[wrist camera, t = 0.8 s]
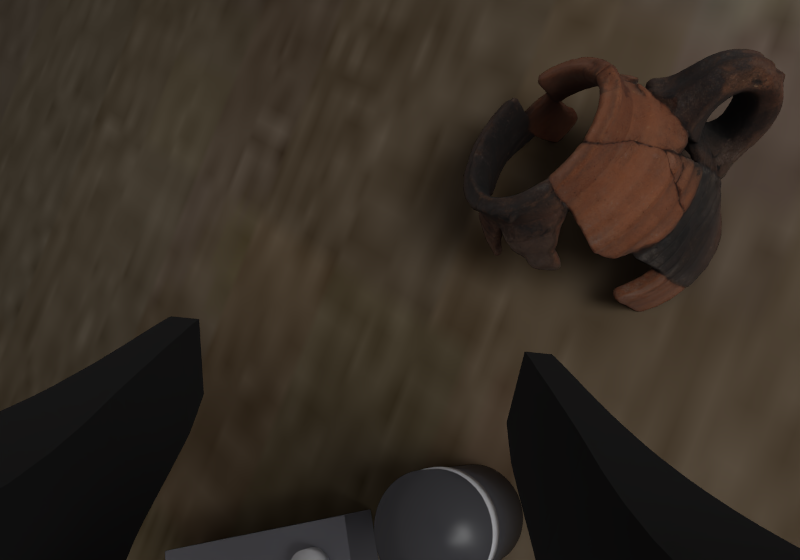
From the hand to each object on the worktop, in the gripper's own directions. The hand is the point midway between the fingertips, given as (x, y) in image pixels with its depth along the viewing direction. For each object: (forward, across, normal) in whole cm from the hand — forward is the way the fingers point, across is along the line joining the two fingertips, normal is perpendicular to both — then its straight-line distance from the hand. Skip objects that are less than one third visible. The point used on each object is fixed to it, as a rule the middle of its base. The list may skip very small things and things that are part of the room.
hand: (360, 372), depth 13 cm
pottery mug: (+14, -11, 0) cm, 18 cm away
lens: (+7, -5, +12) cm, 15 cm away
